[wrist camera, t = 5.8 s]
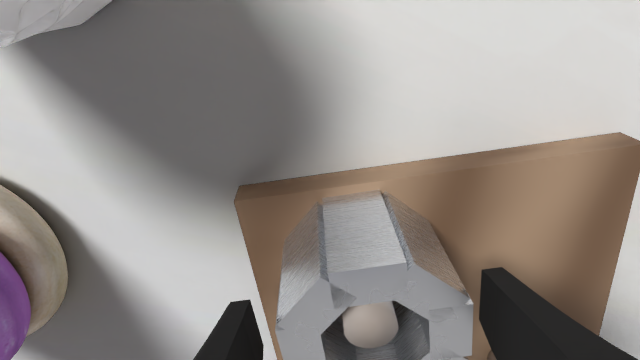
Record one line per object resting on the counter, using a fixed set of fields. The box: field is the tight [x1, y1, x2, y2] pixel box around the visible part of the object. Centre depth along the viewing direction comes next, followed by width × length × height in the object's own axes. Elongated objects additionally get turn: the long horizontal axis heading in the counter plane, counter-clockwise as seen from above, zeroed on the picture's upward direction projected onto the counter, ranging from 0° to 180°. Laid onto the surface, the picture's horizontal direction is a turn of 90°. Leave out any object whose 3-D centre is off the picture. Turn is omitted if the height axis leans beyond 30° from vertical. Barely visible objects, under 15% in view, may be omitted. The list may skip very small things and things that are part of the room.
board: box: [234, 132, 640, 360], centre depth 14 cm, size 14×12×5 cm
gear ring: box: [275, 189, 473, 360], centre depth 13 cm, size 5×5×4 cm
